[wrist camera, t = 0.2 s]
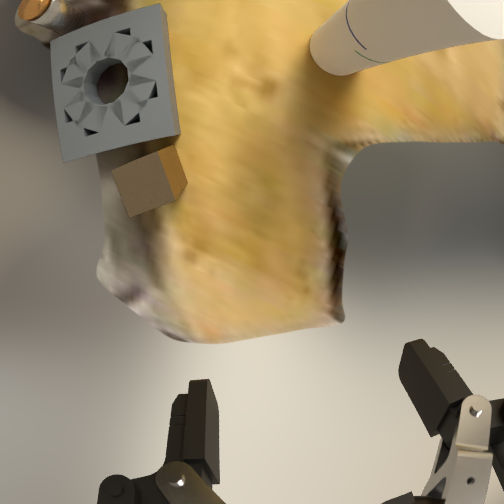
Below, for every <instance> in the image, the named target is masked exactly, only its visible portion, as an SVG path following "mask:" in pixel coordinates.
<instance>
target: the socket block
mask: <svg viewBox="0 0 504 504" xmlns="http://www.w3.org/2000/svg"><path fill="white" fill-rule="evenodd" d="M50 48H51V70H52V84H53V95H54V104H55V112H56V120H57V128H58V134H59V141H60V146H61V152H62V158H63V162H64V163H65V162H68V161H71V160H75V159H78V158H81V157H85V156H89V155H92V154H96V153H100V152H103V151H107V150H111V149H115V148H119V147H123V146H127V145H131V144H136V143H140V142H144V141H149V140H154V139H159V138H164V137H169V136H174V135H178V134H181V132H180V125H179V118H178V111H177V104H176V96H175V88H174V80H173V72H172V63H171V55H170V45H169V36H168V25H167V14H166V13H165V11H164V9H163V8H162V6H161V4H155V5H151V6H147V7H143V8H140V9H136V10H132V11H129V12H126V13H122V14H119V15H116V16H113V17H110V18H107V19H104V20H101V21H98V22H95V23H93V24H90V25H87V26H85V27H82V28H80V29H77V30H75V31H72V32H70V33H67V34H65V35H63V36H61V37H58V38H56V39H54V40H52V41H50ZM151 49H153V52H152V51H151ZM118 63H123V64H124V65H125V66H126V67H127V69H128V79H129V81H128V83H127V86H126V88H125V91H124V93H123V94H122V95H121V96H120V97H119V98H117V99H116V100H115V101H114V102H112V103H108V104H104V103H103V101H102V100H101V99H100V98H99V96H98V91H97V83H98V81H99V78H100V76H101V74H102V73H103V72H104V71H105V70H106V69H107V68H108V67H109V66H112V65H115V64H118ZM139 121H140V122H139ZM98 132H99V133H98Z"/></svg>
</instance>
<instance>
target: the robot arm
mask: <svg viewBox="0 0 504 504" xmlns="http://www.w3.org/2000/svg"><path fill="white" fill-rule="evenodd" d="M399 378H400V380H401V383H402V384H403V386H404V388H405V390H406V392H407V393H408V395H409V397H410V399H411V401H412V403H413V404H414V406H415V408H416V410H417V412H418V414H419V416H420V417H421V419H422V421H423V423H424V425H425V427H426V429H427V431H428V433H429V435H430V437H433V436H435V435H437V434H440V435H441V437H442V438H441V440H440V443H439V447H438V451H437V455H436V459H435V462H434V466H433V469H432V472H431V476H430V478H429V481H428V482H427V484H426V486H425V488H424V490H423V492H422V495H421V496H413V494H412V492H409V493H407V494H404V495H401V496H399V497H396V498H393V499H390V500H388V501H385V502H384V503H382V504H484V502H485V498H486V494H487V489H488V484H489V478H490V473H491V467H492V466H493V468H494V470H495V472H496V475H497V477H498V479H499V481H500V484H501V486H502V488H503V491H504V399H498V400H492V401H488V400H487V399H486V398H485V397H483V396H480V395H473V394H472V392H471V391H470V390H469V388H468V387H467V385H466V384H465V382H464V381H463V379H462V378H461V377H460V375H459V374H458V373H457V371H456V370H454V367H453V366H452V364H451V363H450V362H449V360H448V359H447V357H446V356H445V355H444V353H442V352H441V351H439V350H438V349H436V348H435V347H433V348H430V347H429V346H428V344H427V343H426V342H425V340H423V339H418V340H415V341H412V342H408V343H406V344H405V346H404V349H403V354H402V357H401V361H400V365H399ZM212 484H220V470H219V410H218V404H217V401H216V398H215V395H214V392H213V389H212V385H211V382H210V380H209V379H202V380H191V381H190V382H189V389H188V394H179V395H178V396H177V398H176V399H175V401H174V403H173V404H172V410H171V418H170V427H169V433H168V441H167V450H166V458H165V462H164V464H163V466H162V467H161V468H160V469H159V470H158V471H157V472H155V473H154V474H152V475H149V476H145V477H141V478H136V479H131V480H130V479H129V478H127V477H125V476H123V475H111V476H109V477H107V478H106V479H104V480H103V482H102V483H101V485H100V488H99V494H98V502H97V504H226V503H225V502H224V501H223V500H222V499H221V498H220V497H219V496H218V495H217V494H216V493H215V492H214V491H213V490H212Z"/></svg>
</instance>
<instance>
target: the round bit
mask: <svg viewBox="0 0 504 504" xmlns="http://www.w3.org/2000/svg"><path fill="white" fill-rule="evenodd" d="M18 14H19V17H20V18H21V19H24V20H27V21H29V22H32V23H35V24H37V25H40V26H42V27H45V28H47V29H50V30H52V31H55V32H57V33H59V34H62V35H65V34H67V33H70V32H72V31H75V30H77V29H79V28H80V27H81V25H82V23H83V20H84V14H83V12H82V11H80V10H79V9H77V8H76V7H74V6H72V5H71V4H69V3H68V2H66V1H64V0H22V2H21V4H20V6H19V10H18Z"/></svg>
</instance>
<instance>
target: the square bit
mask: <svg viewBox="0 0 504 504" xmlns="http://www.w3.org/2000/svg"><path fill="white" fill-rule="evenodd" d="M111 172H112V175H113V177H114V180H115V183H116V185H117V188H118V190H119V193H120V195H121V198H122V200H123V203H124V205H125V208H126V210H127V213H128V215H129V218H130V217H133V216H135V215H138V214H141V213H143V212H146V211H149V210H151V209H154V208H157V207H159V206H162V205H165V204H168V203H171V202H173V201H176V199H177V198H178V196H179V195H180V193H181V192H182V190H183V189H184V187H185V186H186V184H187V183H188V182H187V179H186V176H185V174H184V171H183V168H182V165H181V162H180V159H179V157H178V154H177V151H176V148H175V145H171V146H168V147H166V148H163V149H161V150H158V151H155V152H153V153H150V154H148V155H145V156H143V157H141V158H138V159H136V160H133V161H131V162H129V163H127V164H124V165H122V166H120V167H118V168H116V169H113V170H111Z"/></svg>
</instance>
